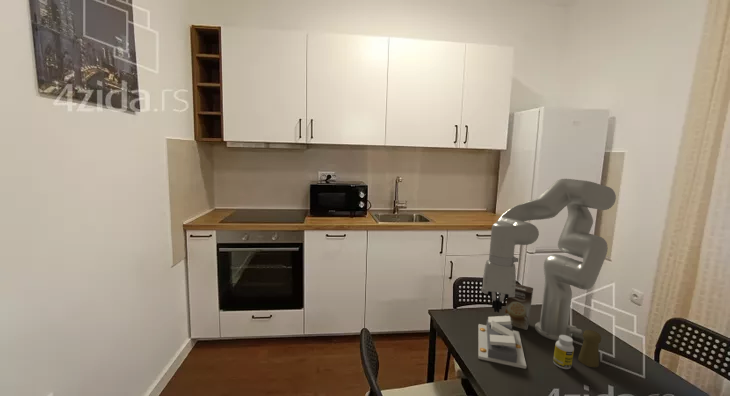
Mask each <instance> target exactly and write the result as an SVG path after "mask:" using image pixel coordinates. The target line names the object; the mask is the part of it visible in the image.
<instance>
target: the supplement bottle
mask: <svg viewBox="0 0 730 396" xmlns="http://www.w3.org/2000/svg"><path fill="white" fill-rule="evenodd" d="M573 342H574V339H573V338H572V336H571V337H569V336H566V335H560V336H559V341H555V346H554V352H553V359H552V362H553V364H554V365H555V366H557V367H559V368H560V369H564V370H569V369H571V368H572V365H573V359H574V352H575V347H574V345H573Z"/></svg>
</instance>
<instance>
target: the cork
mask: <svg viewBox="0 0 730 396" xmlns="http://www.w3.org/2000/svg"><path fill="white" fill-rule="evenodd" d="M582 338H583V342H582V345H581V347H580V351H579V353H578V357H577V360H578V361H579V363H581V364H582V365H584V366H587V367H590V368H598V367H599V366H600V356H599V355H600V352H599V344H601V342H602V336H601V334H600V332H597V331H595V330H592V329H585V330H584V331H582Z"/></svg>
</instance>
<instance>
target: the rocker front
mask: <svg viewBox="0 0 730 396" xmlns="http://www.w3.org/2000/svg"><path fill="white" fill-rule="evenodd" d="M490 345H501V347H504V346H515V347H516V344H515V338H514V336H504V335H490Z"/></svg>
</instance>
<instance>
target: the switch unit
mask: <svg viewBox="0 0 730 396" xmlns="http://www.w3.org/2000/svg"><path fill="white" fill-rule="evenodd" d="M502 326H504V327H505V328H507V329H509V330H511V331H513V334H514V338H515V344H516V347H515V346H504V347H501V345H490V335H500V333H498V332H496V331H494V330H492V329H491V325H489V322H488V318H486V324H482V323H481V324H480V323H478V327H477V328H478V332H477V333H478V334H477V336H478V338H477V340H478V344H477V345H478V347H477V348H478V349H477V350H478V351H477V353H478V354H477V355H478V356H477V358H478V359H479V360H482V361H486V362H493V363H496V364H500V365H506V366H510V367H515V368H521V369H525V370H526V369H527V362H526V359H525V354H524V349H523V344H522V339H521V335H520V331H518V330H514V329H513V326H512V324H507V325H502Z"/></svg>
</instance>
